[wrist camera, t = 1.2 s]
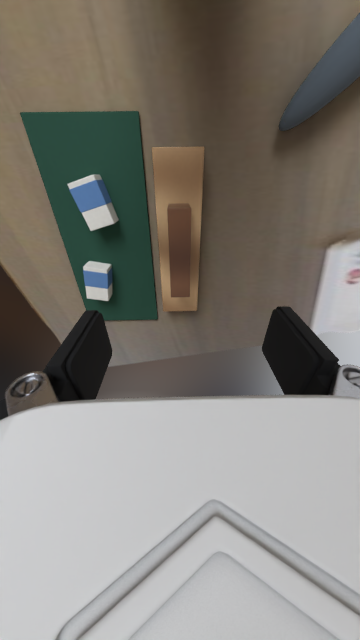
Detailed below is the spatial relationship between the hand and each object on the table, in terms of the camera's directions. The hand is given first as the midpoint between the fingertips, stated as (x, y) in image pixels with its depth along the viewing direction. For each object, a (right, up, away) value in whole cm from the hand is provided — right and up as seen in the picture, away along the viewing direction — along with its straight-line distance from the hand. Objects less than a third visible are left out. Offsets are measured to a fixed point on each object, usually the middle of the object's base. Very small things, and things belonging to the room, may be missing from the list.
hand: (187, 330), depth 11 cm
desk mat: (-11, +11, +17) cm, 23 cm away
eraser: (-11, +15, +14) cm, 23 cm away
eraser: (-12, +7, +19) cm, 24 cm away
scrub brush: (-1, +12, +17) cm, 21 cm away
